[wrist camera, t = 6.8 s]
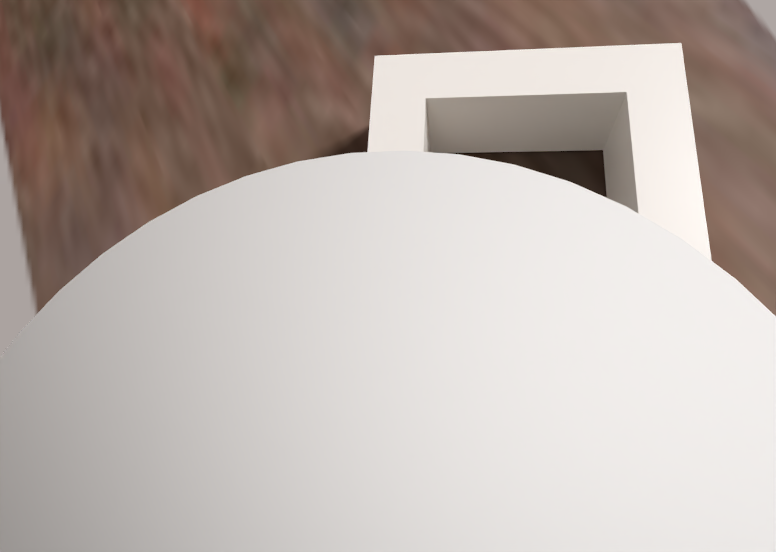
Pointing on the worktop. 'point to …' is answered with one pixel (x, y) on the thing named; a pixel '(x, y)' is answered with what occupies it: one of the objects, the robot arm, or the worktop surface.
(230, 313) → the white banded cylinder
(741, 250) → the worktop surface
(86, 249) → the worktop surface
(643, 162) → the clip bracket
